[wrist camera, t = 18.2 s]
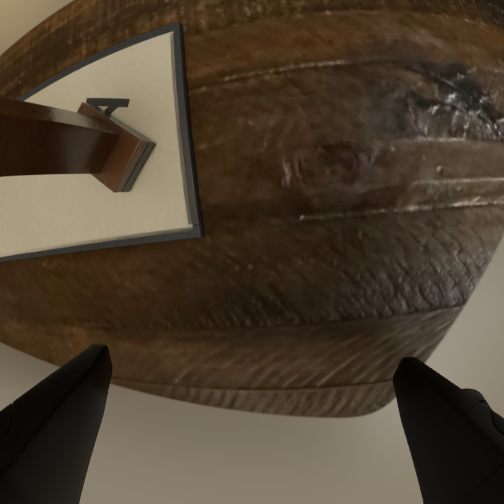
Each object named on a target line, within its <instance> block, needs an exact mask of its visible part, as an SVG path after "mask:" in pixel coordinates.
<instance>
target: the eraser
mask: <svg viewBox="0 0 504 504" xmlns="http://www.w3.org/2000/svg"><path fill="white" fill-rule="evenodd" d="M155 145H156V143H154V142H153V141H151V140H150V139H148V138H147V137H145V136H144V135H142V134H140V133H139V132H137V131H136V130H134V129H133V128H131V127H130V126H128V125H126V124H125V123H123V122H122V121H120V120H119V119H117V118H115V117H114V116H112V115H111V114H109V113H108V112H106V111H104V110H103V109H101V108H100V107H98V106H95V105H92V104H88V103H84V102H82V103H81V105H80V107H79V109H78V111H77V112H73V111H69V110H64V109H59V108H55V107H50V106H45V105H40V104H35V103H30V102H24V101H19V100H13V99H7V98H1V97H0V177H7V176H26V175H54V174H91V175H92V176H94V177H95V178H96V179H97V180H99V181H100V182H101V183H102V184H104V185H105V186H106V187H107V188H109V189H110V190H111V191H113V192H114V193H117V192H129V191H130V189H131V188H132V186H133V184H134V182H135V180H136V178H137V176H138V174H139V173H140V171H141V169H142V167H143V165H144V164H145V162H146V160H147V158H148V157H149V155H150V153H151V151H152V150H153V148H154V146H155Z"/></svg>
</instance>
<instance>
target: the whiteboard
mask: <svg viewBox="0 0 504 504" xmlns="http://www.w3.org/2000/svg"><path fill="white" fill-rule="evenodd" d="M182 33H183V30H182V24H181V23H180V22H176V23H173V24H169V25H166V26H163V27H160V28H158V29H155V30H152V31H149V32H146V33H144V34H141V35H138V36H136V37H133V38H131V39H128V40H126V41H123V42H121V43H119V44H116V45H114V46H112V47H109V48H107V49H105V50H103V51H101V52H98V53H96V54H94V55H92V56H90V57H88V58H86V59H84V60H82V61H80V62H78V63H76V64H74V65H72V66H71V67H69V68H67V69H65V70H63V71H61V72H60V73H58V74H56V75H54V76H53V77H51V78H49V79H47V80H46V81H44V82H43V83H41V84H39V85H38V86H36V87H34V88H33V89H31V90H30V91H28V92H27V93H25V94H24V95H22V96H21V97H19V98H18V99H16V100H19V101H24V102H30V103H35V104H40V105H45V106H50V107H55V108H59V109H64V110H69V111H73V112H77V111H78V109H79V107H80V105H81V103H82V102H84V103H88V104H92V105H95V106H98V107H100V108H101V109H103V110H104V111H106V112H108V113H109V114H111V115H112V116H114V117H115V118H117V119H119V120H120V121H122V122H123V123H125V124H126V125H128V126H130V127H131V128H133V129H134V130H136V131H137V132H139V133H140V134H142V135H144V136H145V137H147V138H148V139H150V140H151V141H153V142H154V143H156V145H155V146H154V148H153V150H152V151H151V153H150V155H149V157H148V158H147V160H146V162H145V164H144V165H143V167H142V169H141V171H140V173H139V174H138V176H137V178H136V180H135V182H134V184H133V186H132V188H131V189H130V191H129V192H117V193H114V192H113V191H111V190H110V189H109V188H107V187H106V186H105V185H104V184H102V183H101V182H100V181H99V180H97V179H96V178H95V177H94V176H92V175H91V174H54V175H26V176H7V177H0V262H4V261H12V260H19V259H26V258H34V257H41V256H49V255H56V254H64V253H72V252H80V251H88V250H96V249H104V248H113V247H121V246H130V245H138V244H147V243H156V242H165V241H174V240H183V239H192V238H201V237H203V236H204V232H203V224H201V223H202V218H201V210H200V203H199V195H198V187H197V179H196V171H195V163H194V154H193V145H192V136H191V126H190V117H189V106H188V96H187V85H186V73H185V60H184V47H183V34H182Z"/></svg>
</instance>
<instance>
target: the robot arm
mask: <svg viewBox="0 0 504 504" xmlns="http://www.w3.org/2000/svg"><path fill="white" fill-rule="evenodd" d="M111 375H112V362H111V358H110V354H109V349H108V347H107V346H106V345H103V344H97V343H94V344H92V345H91V346H89V347H88V348H86V349H85V350H84V351H82V352H81V353H79V354H78V355H77V356H75V357H74V358H73V359H71V360H70V361H68V362H67V363H66V364H64V365H63V366H61V367H60V368H59V369H57V370H56V371H55V372H53V373H52V374H50V375H49V376H48V377H46V378H45V379H44V380H42V381H41V382H40V383H38V384H37V385H35V386H34V387H33V388H31V389H30V390H29V391H27V392H26V393H25V394H23V395H22V396H20V397H19V398H18V399H16V400H15V401H14V402H13V404H10V405H8V406H7V407H6V408H4V409H3V410H2V411H0V504H79V501H80V497H81V493H82V489H83V485H84V481H85V477H86V473H87V470H88V466H89V462H90V458H91V455H92V452H93V448H94V444H95V441H96V438H97V435H98V431H99V428H100V425H101V422H102V418H103V414H104V409H105V404H106V399H107V394H108V389H109V384H110V380H111ZM393 385H394V389H395V394H396V398H397V403H398V408H399V413H400V418H401V422H402V425H403V428H404V432H405V435H406V439H407V442H408V445H409V449H410V452H411V456H412V460H413V463H414V467H415V471H416V474H417V478H418V482H419V486H420V490H421V494H422V498H423V503H424V504H504V418H503V417H501V416H500V415H498V414H497V413H495V412H494V411H492V410H490V409H489V408H488V404H487V402H486V401H485V400H483V401H481V402H479V401H478V400H476V399H475V398H474V397H472V396H471V395H469V394H468V393H466V392H465V391H463V390H462V389H461V388H459V387H458V386H456V385H455V384H453V383H452V382H450V381H449V380H448V379H446V378H445V377H443V376H442V375H440V374H439V373H437V372H436V371H434V370H433V369H432V368H430V367H429V366H427V365H426V364H424V363H423V362H421V361H420V360H418V359H417V358H415V357H405V358H403V359H402V360H401V362H400V364H399V366H398V368H397V370H396V372H395V373H394V376H393Z"/></svg>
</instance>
